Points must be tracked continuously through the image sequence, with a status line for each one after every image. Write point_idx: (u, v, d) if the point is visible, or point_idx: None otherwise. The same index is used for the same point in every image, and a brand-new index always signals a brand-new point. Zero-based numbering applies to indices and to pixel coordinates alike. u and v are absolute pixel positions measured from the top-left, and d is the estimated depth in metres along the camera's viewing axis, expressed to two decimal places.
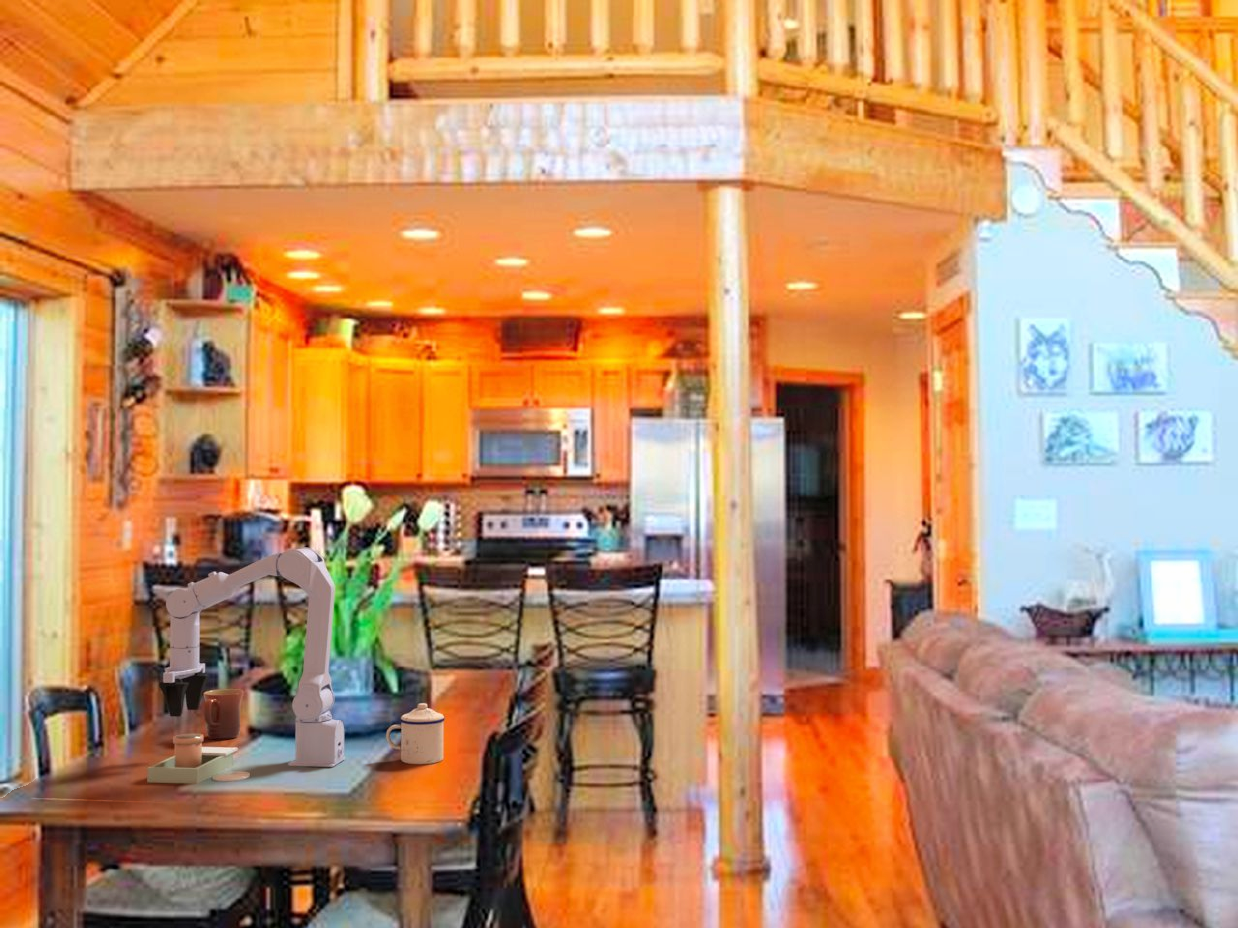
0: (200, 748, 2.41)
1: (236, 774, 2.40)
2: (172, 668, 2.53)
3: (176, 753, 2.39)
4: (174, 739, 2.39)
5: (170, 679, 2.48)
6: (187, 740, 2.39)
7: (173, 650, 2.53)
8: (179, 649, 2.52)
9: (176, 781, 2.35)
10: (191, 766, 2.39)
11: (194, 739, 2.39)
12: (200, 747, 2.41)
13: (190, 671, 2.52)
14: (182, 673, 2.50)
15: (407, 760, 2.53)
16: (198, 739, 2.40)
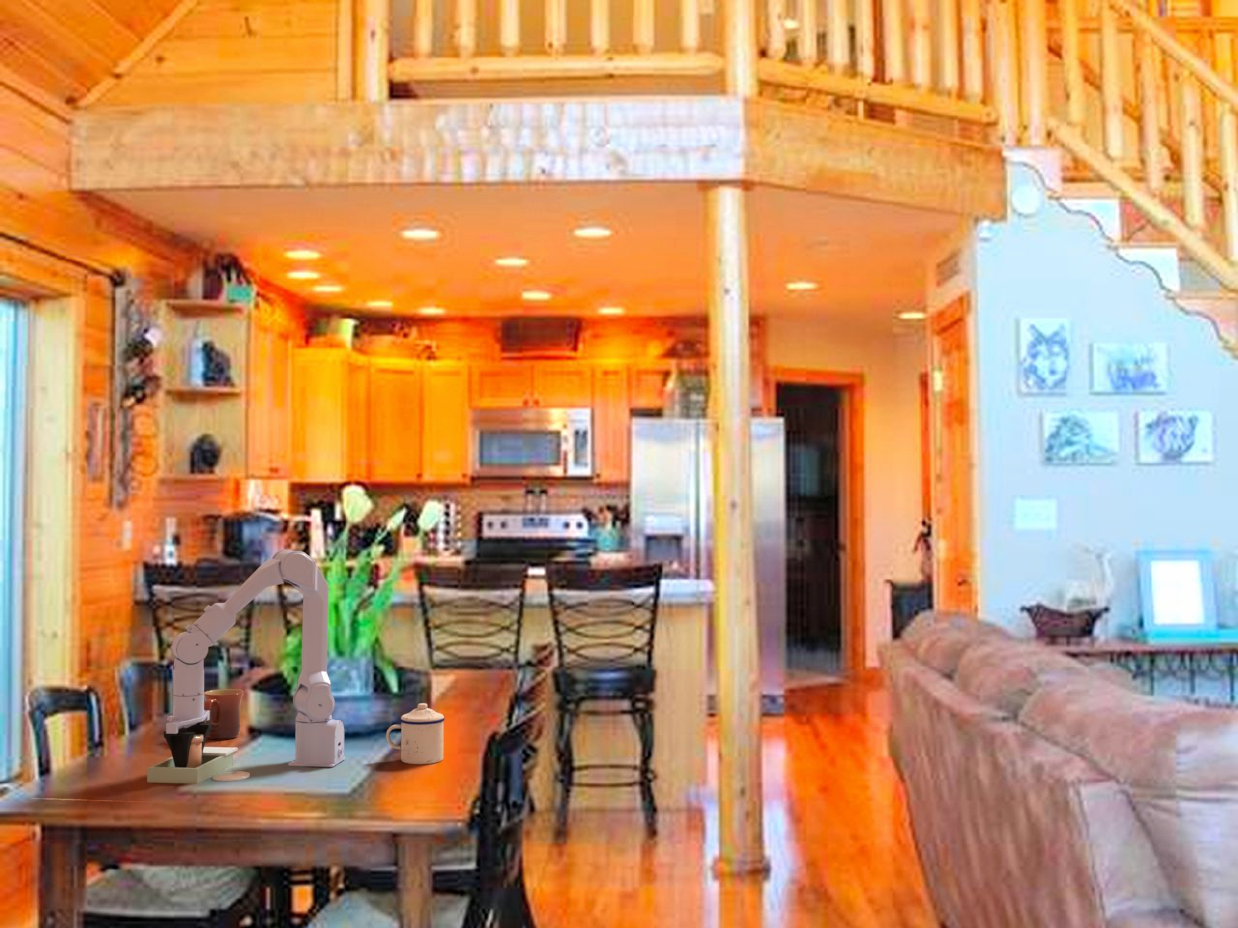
0: (200, 748, 2.41)
1: (236, 774, 2.40)
2: (175, 717, 2.39)
3: None
4: None
5: (173, 730, 2.34)
6: None
7: (176, 698, 2.39)
8: (183, 697, 2.39)
9: (176, 781, 2.35)
10: (191, 766, 2.39)
11: (194, 739, 2.39)
12: (200, 747, 2.41)
13: (194, 720, 2.39)
14: (186, 723, 2.37)
15: (407, 760, 2.53)
16: (198, 739, 2.40)
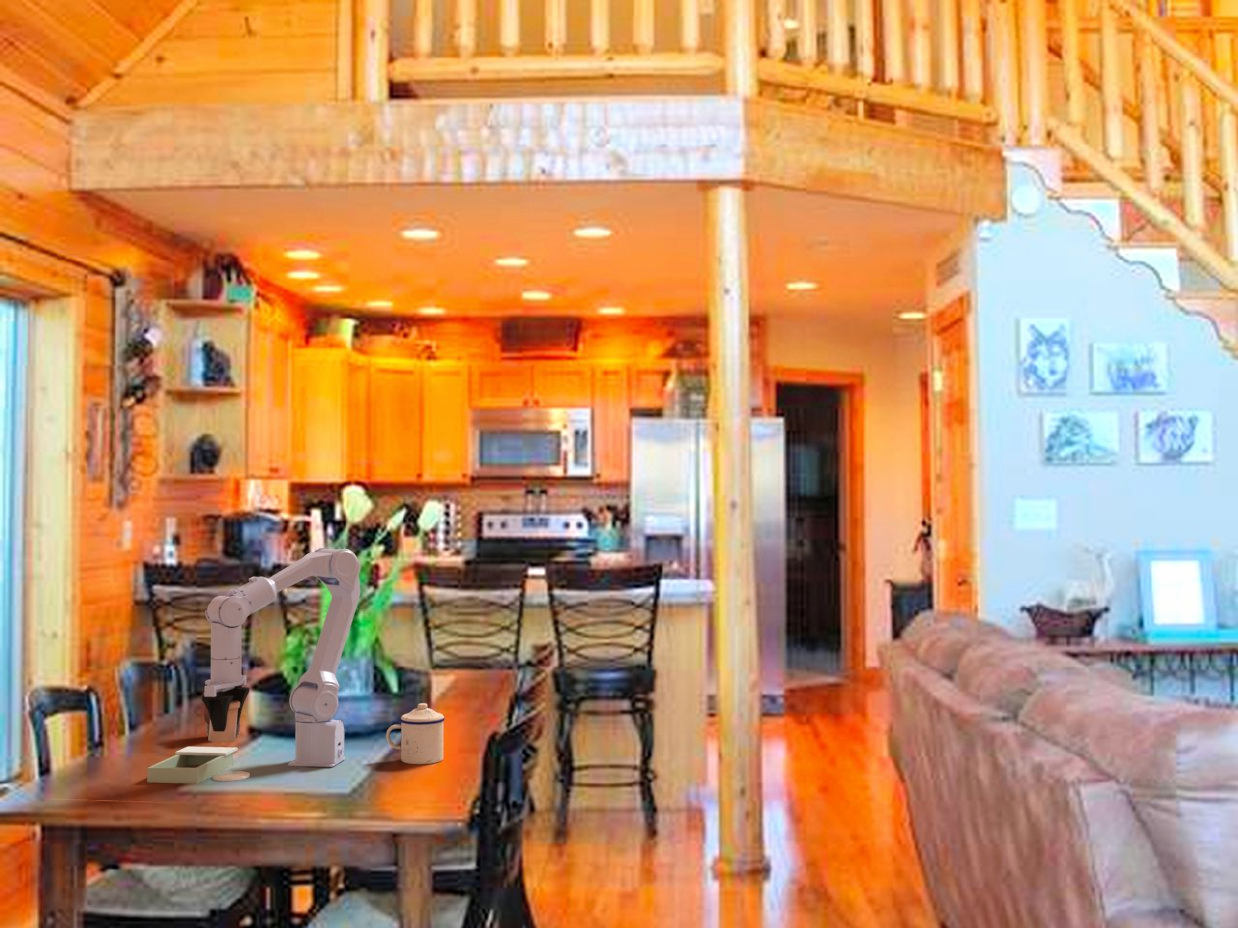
0: (236, 714, 2.40)
1: (236, 774, 2.40)
2: (213, 681, 2.38)
3: None
4: None
5: (212, 693, 2.33)
6: None
7: (214, 662, 2.38)
8: (220, 661, 2.38)
9: (176, 781, 2.35)
10: (226, 731, 2.38)
11: (231, 704, 2.38)
12: (236, 713, 2.40)
13: (232, 684, 2.38)
14: (224, 686, 2.36)
15: (407, 760, 2.53)
16: (235, 705, 2.39)
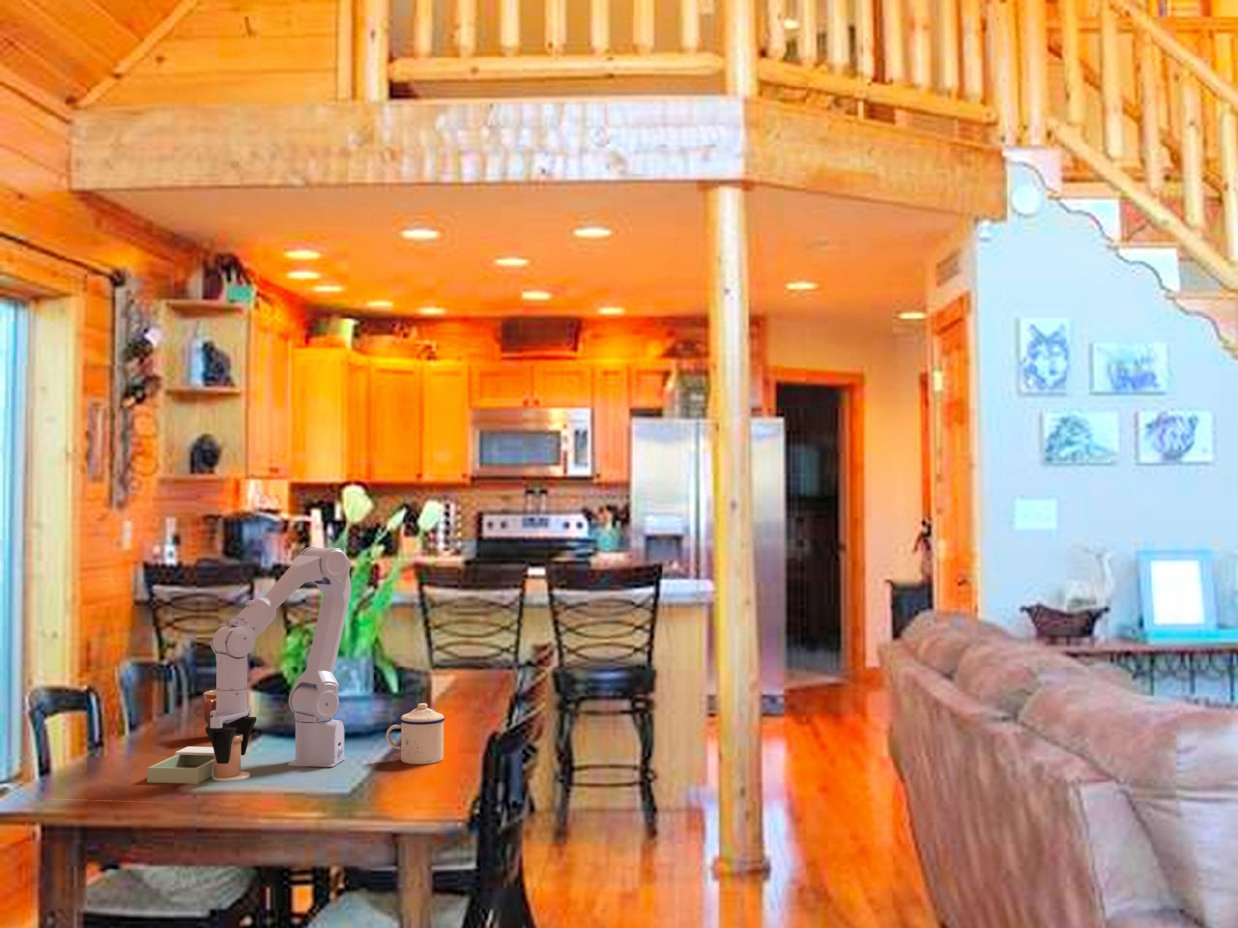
0: (239, 747, 2.40)
1: None
2: (219, 712, 2.38)
3: None
4: None
5: (218, 724, 2.33)
6: None
7: (220, 693, 2.38)
8: (226, 692, 2.37)
9: (176, 781, 2.35)
10: (231, 765, 2.38)
11: (234, 738, 2.38)
12: (239, 746, 2.40)
13: (238, 715, 2.37)
14: (230, 717, 2.35)
15: (407, 760, 2.53)
16: (238, 738, 2.39)
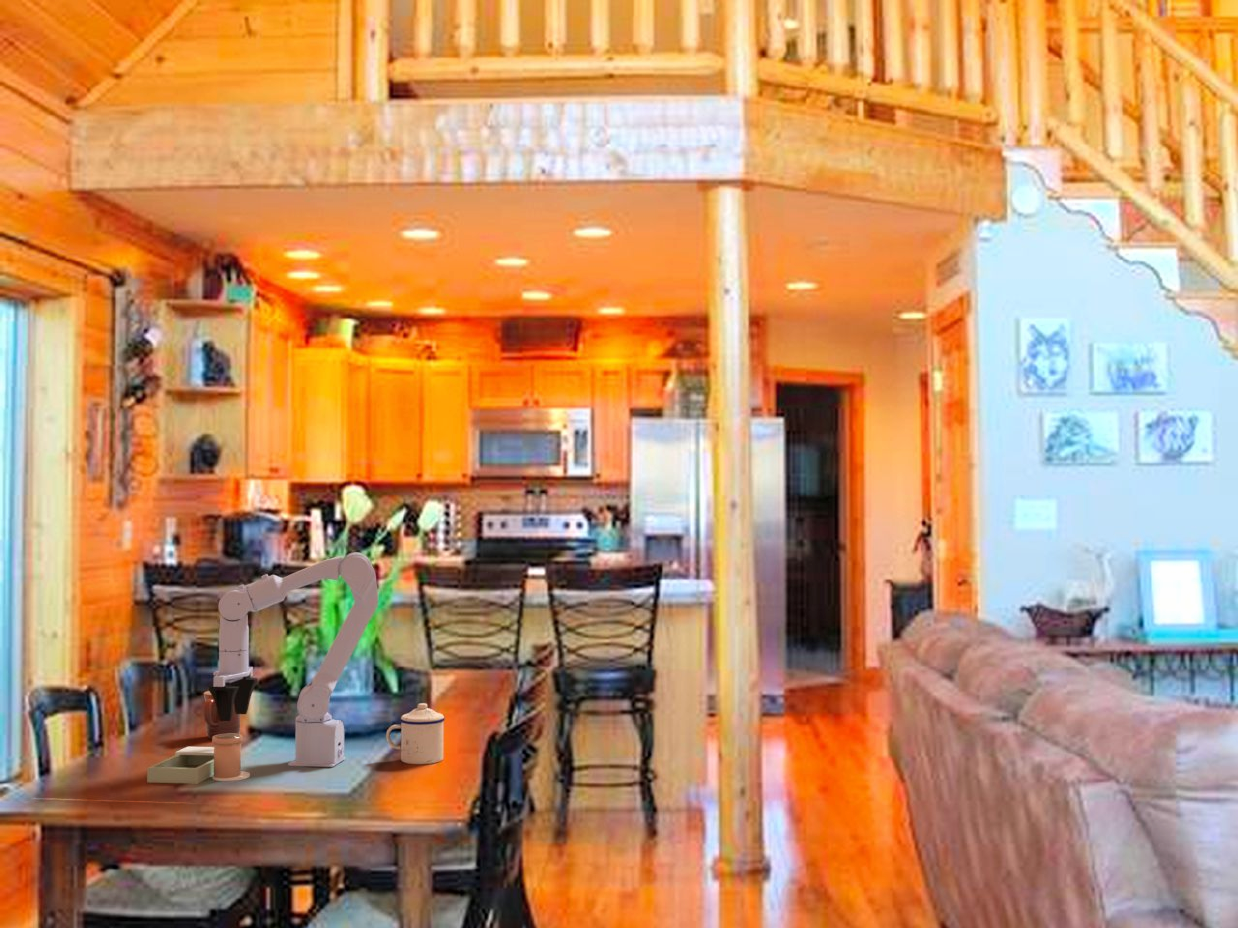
0: (239, 748, 2.40)
1: None
2: (221, 672, 2.48)
3: (216, 753, 2.38)
4: (214, 739, 2.38)
5: (221, 683, 2.43)
6: (227, 740, 2.37)
7: (222, 653, 2.48)
8: (229, 652, 2.48)
9: (176, 781, 2.35)
10: (231, 766, 2.38)
11: (234, 739, 2.38)
12: (239, 747, 2.39)
13: (240, 675, 2.48)
14: (232, 677, 2.46)
15: (407, 760, 2.53)
16: (238, 739, 2.38)
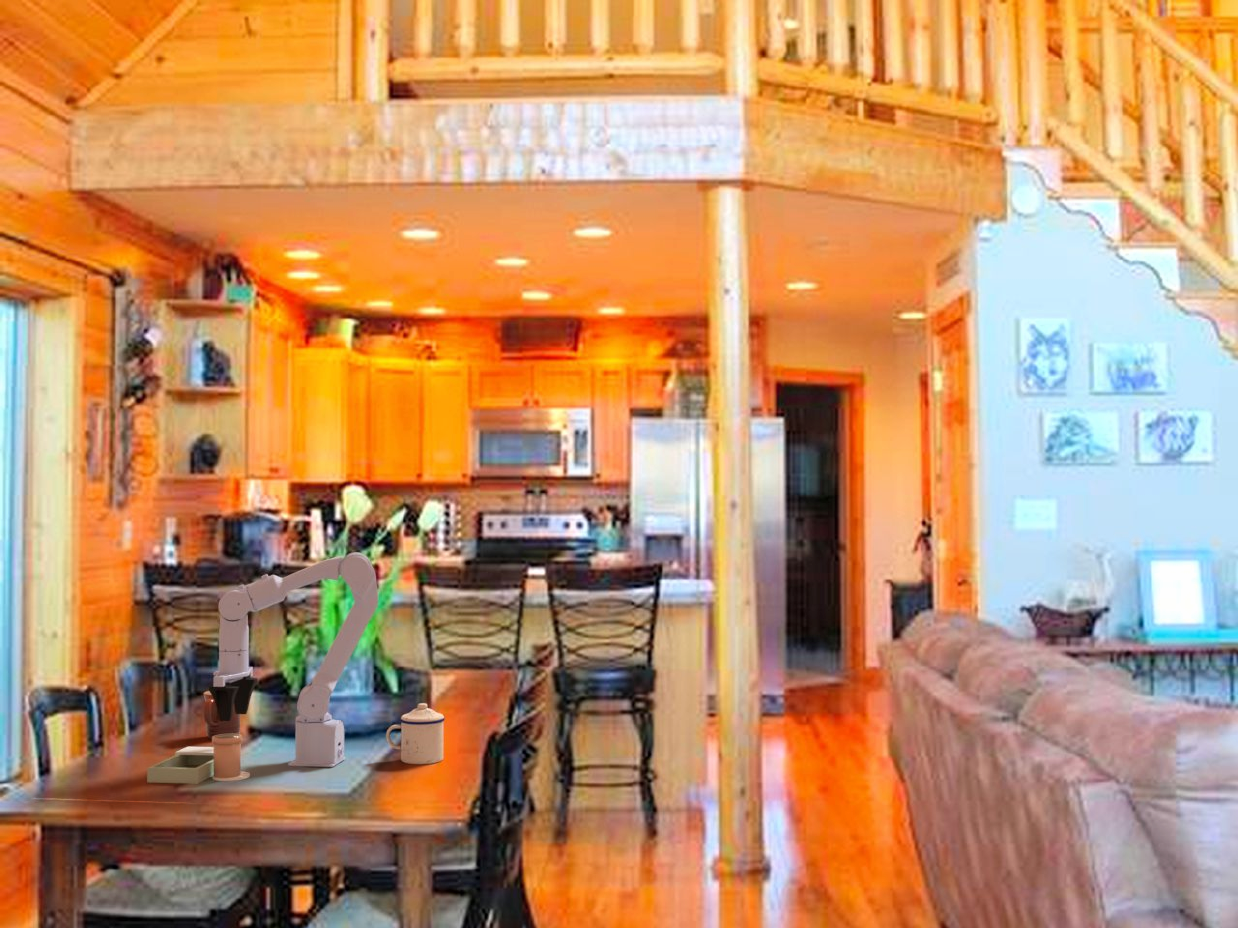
0: (239, 748, 2.40)
1: None
2: (221, 672, 2.48)
3: (215, 753, 2.38)
4: (213, 739, 2.38)
5: (221, 683, 2.43)
6: (226, 740, 2.37)
7: (222, 653, 2.48)
8: (229, 652, 2.48)
9: (176, 781, 2.35)
10: (231, 766, 2.38)
11: (233, 739, 2.38)
12: (239, 747, 2.40)
13: (240, 675, 2.48)
14: (232, 677, 2.46)
15: (407, 760, 2.53)
16: (237, 739, 2.38)
